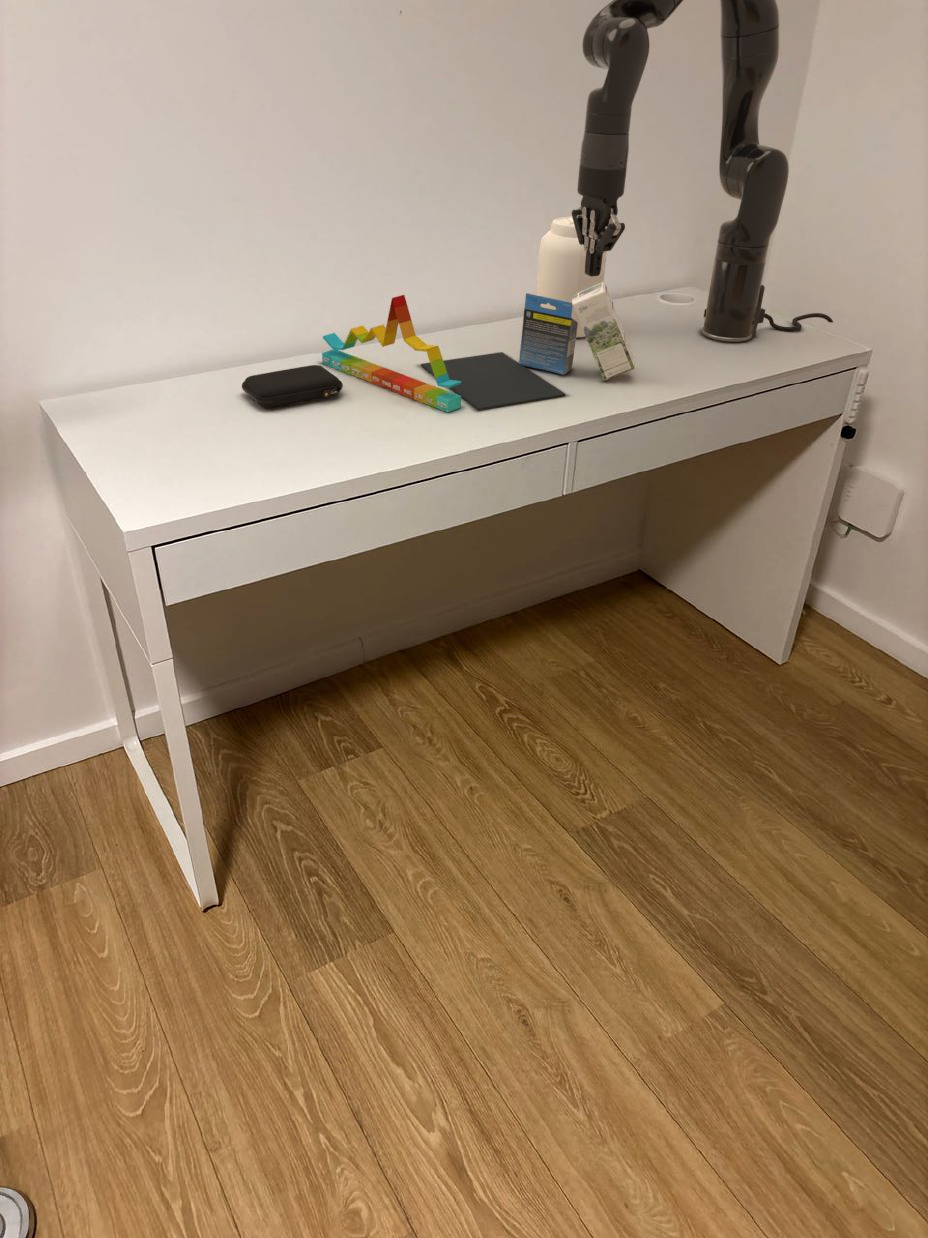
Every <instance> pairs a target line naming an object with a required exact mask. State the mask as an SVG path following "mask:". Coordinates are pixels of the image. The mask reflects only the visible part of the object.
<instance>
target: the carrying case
mask: <svg viewBox="0 0 928 1238" xmlns="http://www.w3.org/2000/svg"><path fill="white" fill-rule="evenodd" d="M343 387H344V383H343V381H341V380H340V378H338V377H337V376H336V375H334V373H332V372H330V371H329V370H328V369H326V368H325V367H323V366H321V365H319V364H311V365H306V366H305V365H304V366H300V367H293V368H292V367H291V368H286V369H282V370H275V371H270V372H264V373H258V374H253V375H249V376H247V377H246V378H245V379H244V380H243V382H242V384H241V389H242V391H243V392H244V393H245V394H247V395H248V396H249V397H250V398H251V399H252V400H253V401H255V402H256V403H257V404H258V405H260V406H261V407H263V408H265V409H272V408H278V407H284V406H289V405H295V404H299V403H306V402H311V401H315V400H321V399H325V398H330V397H335V396H337V395H339V394H340V391H342V390H343Z"/></svg>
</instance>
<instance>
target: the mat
mask: <svg viewBox="0 0 928 1238" xmlns="http://www.w3.org/2000/svg"><path fill="white" fill-rule="evenodd" d="M443 361H444V364H445V367H446V371H447V374H448V376H449V380H456V381H461V384H459V385H456V386H453V387H450V388H449V389H450V390H451V391H453V393H455V394H457V395H460V396H461V399H462V400H464V401H465V402H466V403H468V404H469V405H470V406H471V407H473V408H474V409H476V410H477V411H484V410H485V411H486V410H491V409H496V408H503V407H508V406H514V405H521V404H527V403H532V402H538V401H543V400H549V399H555V398H562V397H566V393H565V392H564V391H562V390H561V389H559V388H557V387H556V386H554V385H553V384H551V383H549V382H548V381H547V380H545V379H544V378H542V377H541V376H539V375H538V374H536V373H535V372H533V371H531V370H530V369H528V368H527V367H526V366H523V365H519V361H516V360H514V359H513V358H511V356H508V354H505V353H504V352H503V351H500V352H494V353H488V354H487V353H486V354H480V355H473V356H466V357H460V358H459V357H458V358H452V359H445V360H443ZM420 366H421V368H423V369H424V370H425V371H427V372H428V373H429V374H431V375H432V376H433V377H435V376H434V373H433V370H432V367H431V364H430V362H425V363H421V364H420Z"/></svg>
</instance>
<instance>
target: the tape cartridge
mask: <svg viewBox="0 0 928 1238" xmlns="http://www.w3.org/2000/svg"><path fill="white" fill-rule="evenodd" d="M524 299H525V300H524V308H523V318H522V329H521V338H520V350H519V357H518V363H519V365H522V366H524V367H529V368H533V369H538V370H543V371H547V372H551V373H556V374H559V375H562V376H565V375H566V374H568V373H569V372H570V371H572V369H573V362H574V356H575V349H576V341H577V338H576V334H577V326H578V323H577V322H576V321H575V320H574V319H572V318H571V315H572V306H573V305H572V303H571V302H565V301H561V300H556V299H552V298H547V297H542V296H537V295H536V294H531V293H528V292H526V293H525V298H524ZM547 303H549V304H550V305H551V306H555V307H556V309H555V310H553V309H548V308H543V307H541V306H540V305H541V304H547Z"/></svg>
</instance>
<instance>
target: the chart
mask: <svg viewBox="0 0 928 1238" xmlns="http://www.w3.org/2000/svg"><path fill="white" fill-rule="evenodd" d="M398 328H400V332H401V335H402V339H403V342H404V343H405V344H407V346H409V347H410V348H411V349H412V350H413V351H416V352H426V355H427V358H428V360H429V361H428V362H429V363H430V364H431V367H432V370H433V373H434V376H433V377H434V380H435V381H436V384H437V386H435V385H433V384H429V383H427V382H425V381H422V380H419V379H416V378H414V377H411V376H408V375H406V374H404V373H401V372H398V371H395V370H392V369H389V368H387V367H384V366H381V365H379V364H377V363H374V362H371V361H368V360H366V359H363V358H361V357H357V356H356V355H352V354H350V353H348V352H344V350H347V349H351V348H354V347H355V346H356V344H357V341H358V342H360V343H361V344H364V343H368V342H371V341H374V340H375V339H377V341H378V342H379V344H380V345H381V347H382V348H383V347H387V346H390V345H394V344H395V342H396V338H397V333H398ZM322 339H323V340H324V342H326V344H328V346H329V347H330V348H331V349H330V350H326V351H324V352H322V353H321V356H322V364H323V365H325V366H328V367H330V368H333V369H335V370H338V371H341V372H343V373H346V374H349V375H351V376H354V377H356V378H359V379H361V380H364V381H366V382H369V383H370V384H371V383H372V384H374V385H376V386H379V387H381V388H384V389H387V390H389V391H391V392H394V393H397V394H399V395H401V396H404V397H406V398H410V399H412V400H415V401H417V402H420V403H422V404H424V405H425V404H426V405H428V406H430V407H433V408H435V409H438V410H441V411H444V412H446V413H450V412H452V411H456V410H458V409H461V408H462V397H461V396H460V395H458V394H456V393H455V392H452V391H449V390H446V389H444V388H449V389H450V387H453V386H456V385H459V384H461V381H456V380H449V376H448V374H447V371H446V367H445V364H444V361H445V360H444V359H443V355H442V352H441V350H440V346H439V345H437V344H436V345H434V344H428V343H426V342H425V341H424V340H423V339H421V338H420V337H419V336H418V335H416V331H415V328H414V324H413V320H412V316H411V313H410V310H409V306H408V303H407V298H406V296H405V294H401V295H398V296H394V297H391V302H390V306H389V311H388V316H387V321H386V326H385V324H380V325H377V326H373V327H371V328H370V329H369V331H368V329H367V328H366V327H365V326H364V325H360V326H356V327H353V328H350V329H349V332H348V334H347V337H346V339H345V341H344V342H343V340H342V339H341V338H340V337H339V335H337V334H336V333H335V332H332V333H329V334H325V335H322Z"/></svg>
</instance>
